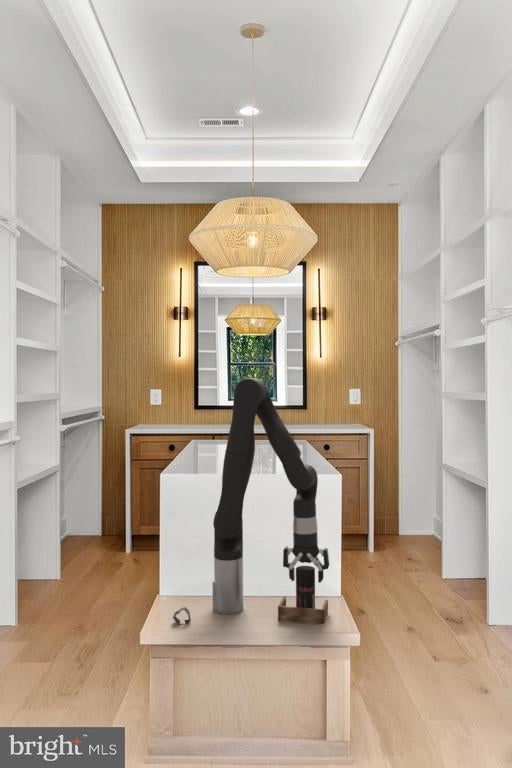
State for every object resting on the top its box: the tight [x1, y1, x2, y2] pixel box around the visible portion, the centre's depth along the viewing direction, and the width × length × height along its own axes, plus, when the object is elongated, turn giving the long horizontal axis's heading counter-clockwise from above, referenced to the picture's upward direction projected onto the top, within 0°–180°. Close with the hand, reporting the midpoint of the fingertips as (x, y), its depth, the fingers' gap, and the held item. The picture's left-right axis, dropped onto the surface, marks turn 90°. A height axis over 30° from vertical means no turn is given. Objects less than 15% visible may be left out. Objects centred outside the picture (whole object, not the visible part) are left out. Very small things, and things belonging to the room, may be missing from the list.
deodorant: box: [295, 565, 316, 609], centre depth 207 cm, size 6×6×15 cm
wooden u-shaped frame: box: [277, 595, 329, 625], centre depth 206 cm, size 14×9×4 cm, turn 76°
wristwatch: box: [172, 606, 192, 625], centre depth 202 cm, size 3×5×5 cm
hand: (306, 581), depth 207 cm, fingers open, 8 cm apart
